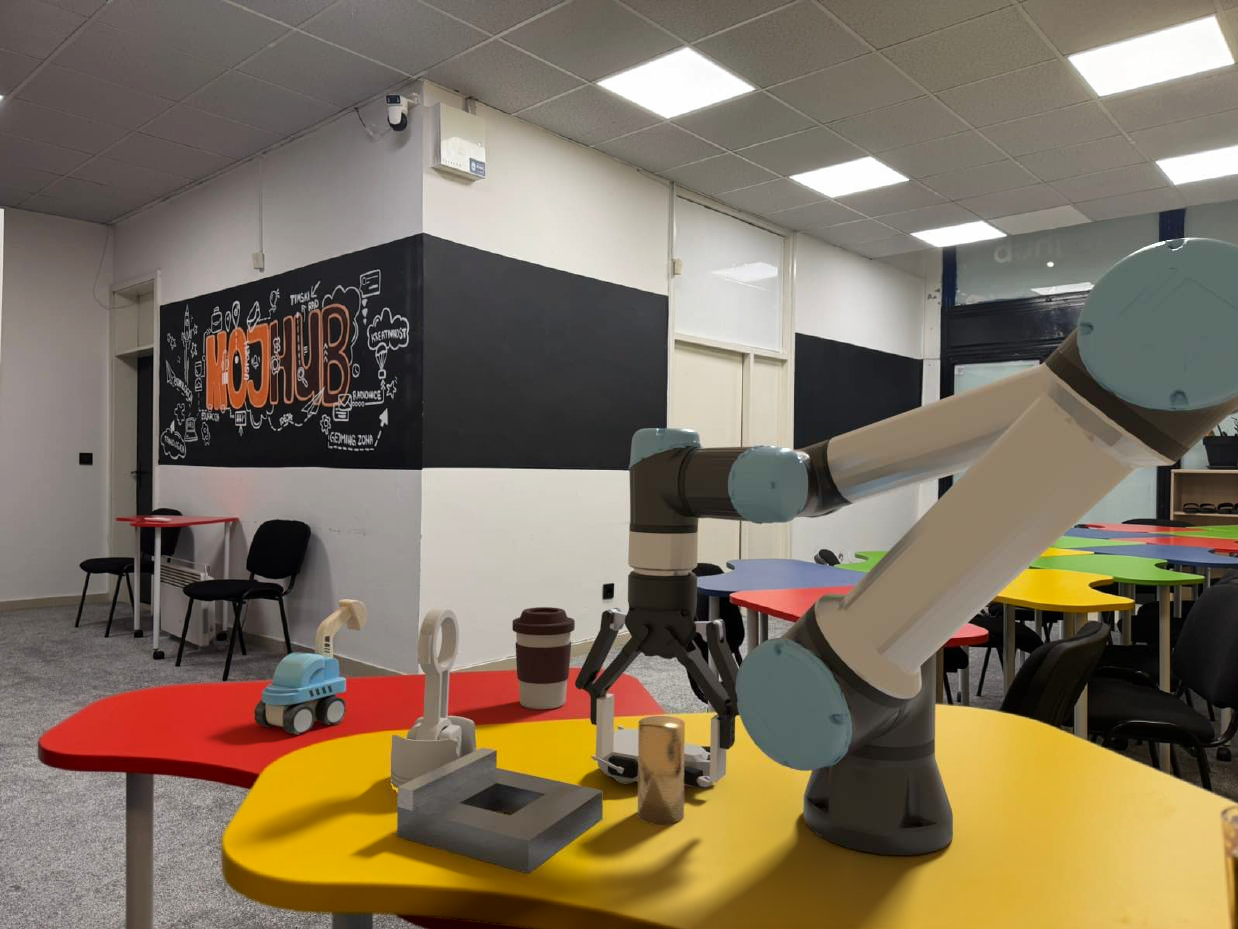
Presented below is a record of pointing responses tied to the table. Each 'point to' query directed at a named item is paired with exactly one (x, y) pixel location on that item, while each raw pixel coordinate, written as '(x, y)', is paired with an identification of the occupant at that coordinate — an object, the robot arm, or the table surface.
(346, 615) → the toy excavator
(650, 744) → the copper cylinder rod
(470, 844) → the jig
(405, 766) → the engine component
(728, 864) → the table surface
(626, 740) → the robot toy
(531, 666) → the coffee cup
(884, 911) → the table surface
